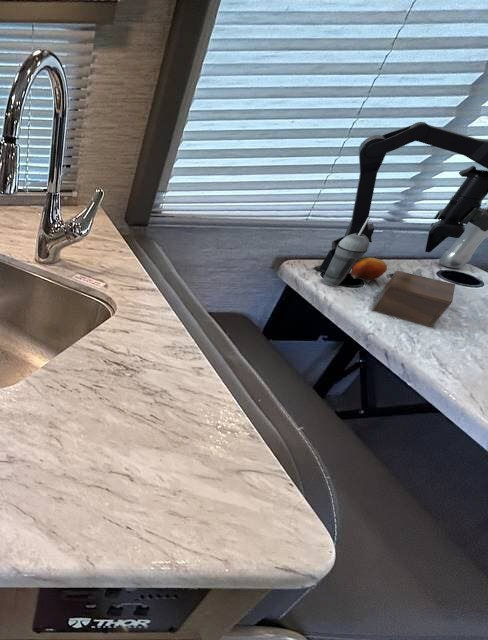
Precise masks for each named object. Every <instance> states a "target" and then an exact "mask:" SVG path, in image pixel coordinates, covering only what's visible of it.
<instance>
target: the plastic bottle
mask: <svg viewBox="0 0 488 640" xmlns="http://www.w3.org/2000/svg"><path fill="white" fill-rule="evenodd" d="M484 209H488V205H487V206H486V207H484ZM464 227H465V231H464V233H463V234H462V235H461V236H460V238H456V240H455V241H454V242H453V244H452V245H451V246H450V247H449V248H448V249H447V250H445V251H444V253H443V254H442V255H441V256H440V258H439V260H438V262H439V265H442V266H444V267H447V268H451V269H452V268H453V269H460V268H463V267H465V266H466V265H467V264H469V263H470V260H471V259H472V257H473V255H474V253H475V252H476V250H477V249H478V247H479V246H480V245H481V243H482V242H483V241H484V240H485V239H486V238H487V237H488V230H487V231H486V232H485V231H482V230H480V228H479V227H477V226H475V225H473V224H472V223H470V222H468V224H465V225H464Z"/></svg>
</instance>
